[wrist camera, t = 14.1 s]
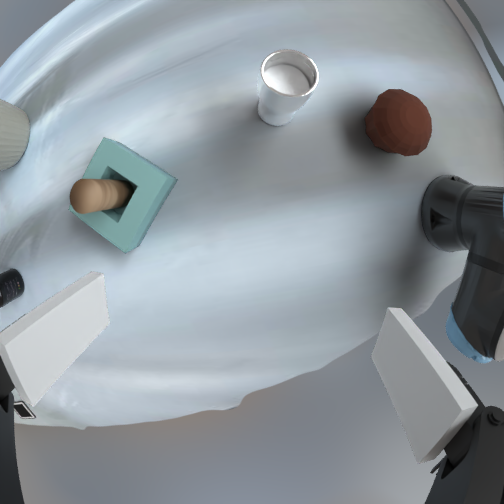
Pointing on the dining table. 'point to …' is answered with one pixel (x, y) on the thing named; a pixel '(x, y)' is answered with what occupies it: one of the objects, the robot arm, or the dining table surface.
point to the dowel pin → (100, 195)
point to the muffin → (399, 123)
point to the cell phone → (23, 410)
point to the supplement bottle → (10, 286)
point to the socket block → (142, 202)
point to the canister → (12, 134)
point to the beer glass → (285, 85)
